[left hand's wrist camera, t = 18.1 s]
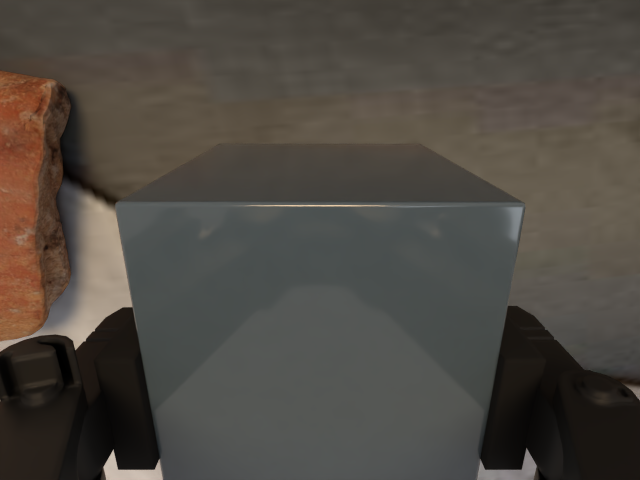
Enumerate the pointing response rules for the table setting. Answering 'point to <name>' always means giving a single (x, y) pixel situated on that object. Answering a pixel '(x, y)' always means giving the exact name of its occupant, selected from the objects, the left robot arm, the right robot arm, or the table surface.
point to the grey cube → (320, 311)
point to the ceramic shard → (30, 201)
